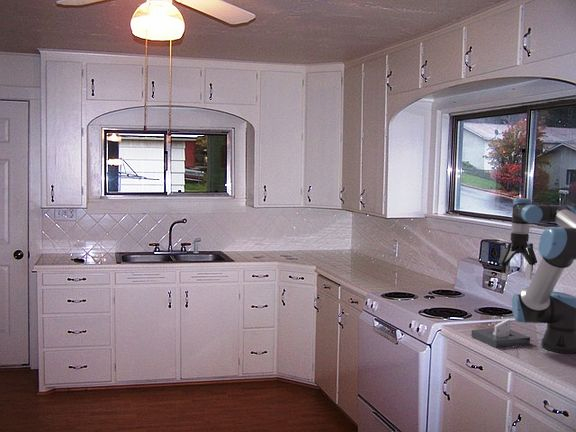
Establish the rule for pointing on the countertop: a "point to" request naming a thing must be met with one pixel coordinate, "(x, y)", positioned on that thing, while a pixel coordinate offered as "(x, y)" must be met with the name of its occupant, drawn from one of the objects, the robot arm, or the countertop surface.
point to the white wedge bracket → (502, 328)
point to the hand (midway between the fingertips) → (516, 279)
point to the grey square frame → (500, 338)
